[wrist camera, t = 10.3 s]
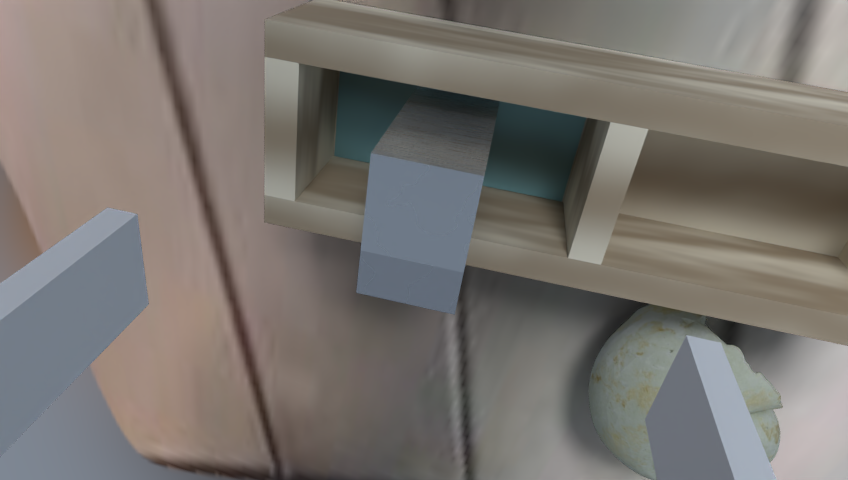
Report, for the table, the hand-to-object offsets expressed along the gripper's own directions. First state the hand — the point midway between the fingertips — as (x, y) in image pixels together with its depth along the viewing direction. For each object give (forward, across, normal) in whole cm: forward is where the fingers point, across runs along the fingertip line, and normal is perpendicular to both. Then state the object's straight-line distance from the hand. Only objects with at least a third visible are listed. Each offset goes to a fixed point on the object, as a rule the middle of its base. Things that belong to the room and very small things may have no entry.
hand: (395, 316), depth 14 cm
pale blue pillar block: (+18, -1, -1) cm, 19 cm away
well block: (+20, +7, -2) cm, 21 cm away
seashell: (+20, +15, -14) cm, 29 cm away
